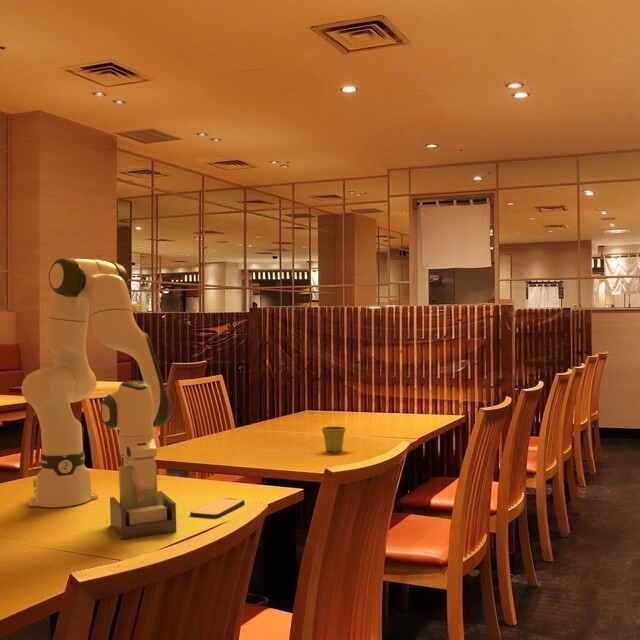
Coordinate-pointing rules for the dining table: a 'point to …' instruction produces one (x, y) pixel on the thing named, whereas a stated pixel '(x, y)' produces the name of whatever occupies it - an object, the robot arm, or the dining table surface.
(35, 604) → the dining table surface
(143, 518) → the offcut upper
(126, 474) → the tall sheet
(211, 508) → the phone case
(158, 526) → the rack
